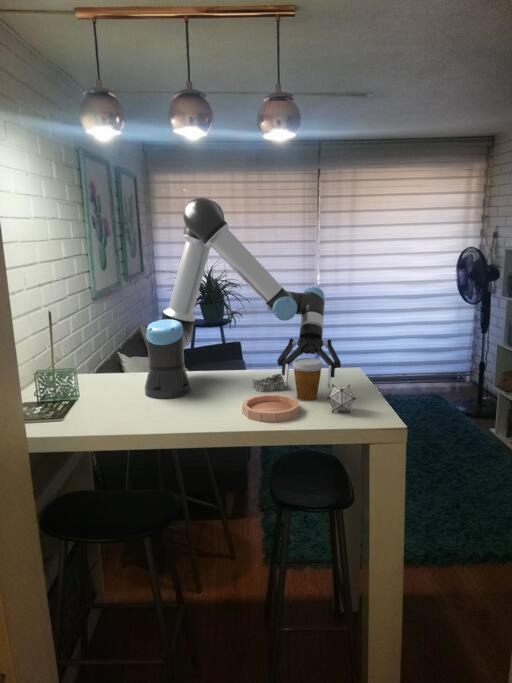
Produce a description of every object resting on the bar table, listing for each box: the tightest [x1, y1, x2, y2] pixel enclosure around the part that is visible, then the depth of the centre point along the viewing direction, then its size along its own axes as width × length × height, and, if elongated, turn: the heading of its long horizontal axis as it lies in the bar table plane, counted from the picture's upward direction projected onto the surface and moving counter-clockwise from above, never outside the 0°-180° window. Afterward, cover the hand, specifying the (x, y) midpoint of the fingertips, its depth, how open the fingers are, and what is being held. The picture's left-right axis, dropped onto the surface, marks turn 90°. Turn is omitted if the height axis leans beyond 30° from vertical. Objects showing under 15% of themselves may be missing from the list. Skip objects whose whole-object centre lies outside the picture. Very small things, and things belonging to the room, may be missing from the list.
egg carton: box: [252, 373, 286, 393], centre depth 173 cm, size 11×8×4 cm
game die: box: [325, 383, 357, 414], centre depth 149 cm, size 9×8×10 cm
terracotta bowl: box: [241, 394, 300, 423], centre depth 150 cm, size 16×16×2 cm
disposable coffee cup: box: [292, 357, 324, 402], centre depth 161 cm, size 10×10×12 cm
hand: (307, 385), depth 159 cm, fingers open, 13 cm apart
